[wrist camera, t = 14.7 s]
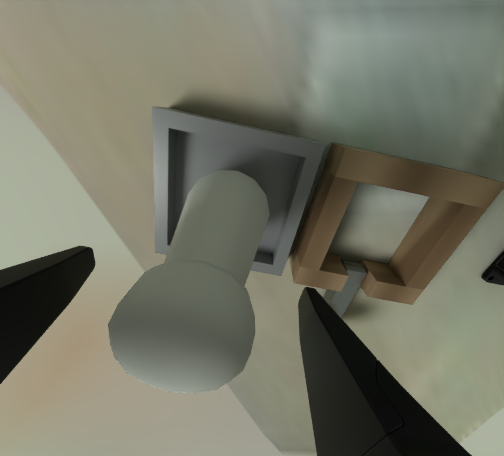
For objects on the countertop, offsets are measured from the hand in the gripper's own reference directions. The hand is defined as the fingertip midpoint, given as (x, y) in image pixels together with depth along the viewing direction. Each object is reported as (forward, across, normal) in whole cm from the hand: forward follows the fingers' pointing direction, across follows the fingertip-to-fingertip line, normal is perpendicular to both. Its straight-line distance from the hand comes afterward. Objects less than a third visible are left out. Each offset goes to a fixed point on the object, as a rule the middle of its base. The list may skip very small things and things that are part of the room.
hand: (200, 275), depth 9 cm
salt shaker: (+9, 0, 0) cm, 9 cm away
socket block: (+10, -12, 0) cm, 16 cm away
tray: (+10, 0, 0) cm, 10 cm away
